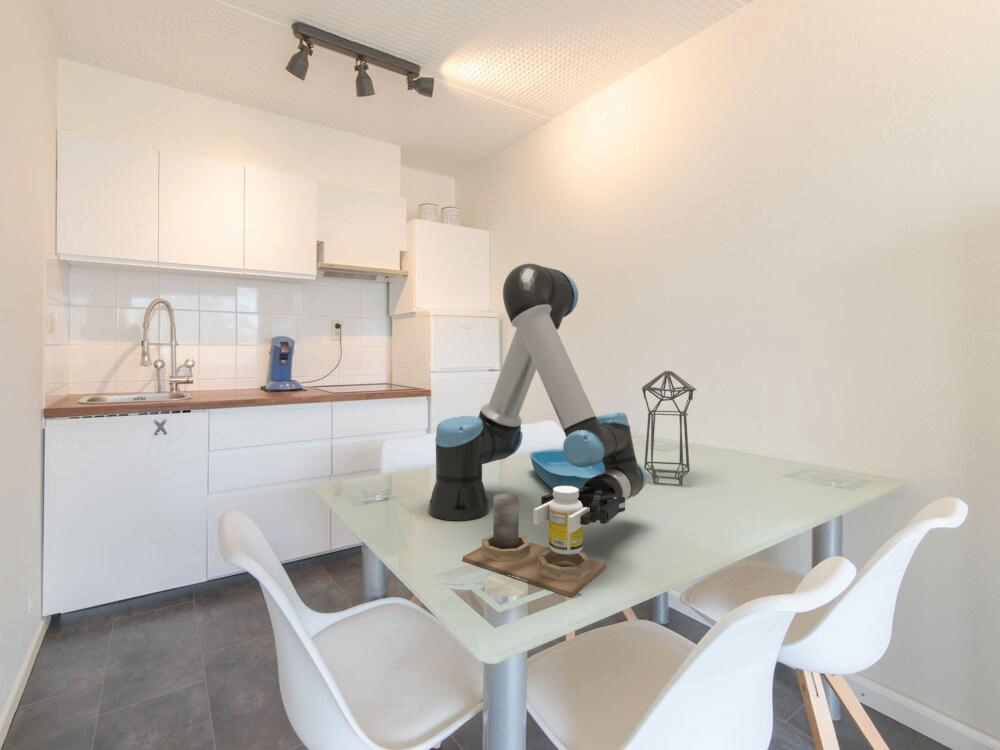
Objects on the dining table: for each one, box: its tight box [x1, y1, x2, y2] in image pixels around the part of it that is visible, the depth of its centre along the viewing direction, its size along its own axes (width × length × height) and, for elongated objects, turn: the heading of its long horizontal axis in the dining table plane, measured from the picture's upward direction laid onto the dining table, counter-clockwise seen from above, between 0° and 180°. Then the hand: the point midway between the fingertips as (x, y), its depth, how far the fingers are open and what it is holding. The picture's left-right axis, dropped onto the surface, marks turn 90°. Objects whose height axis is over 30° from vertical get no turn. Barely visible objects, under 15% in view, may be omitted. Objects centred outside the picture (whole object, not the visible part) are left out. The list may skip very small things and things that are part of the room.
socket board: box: [462, 492, 607, 598], centre depth 93 cm, size 24×14×12 cm, turn 54°
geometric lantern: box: [641, 370, 697, 486], centre depth 154 cm, size 16×16×35 cm
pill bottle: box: [548, 486, 584, 554], centre depth 89 cm, size 6×6×11 cm
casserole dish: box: [529, 448, 605, 490], centre depth 152 cm, size 37×22×7 cm, turn 12°
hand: (552, 520), depth 85 cm, fingers closed on pill bottle, 6 cm apart
